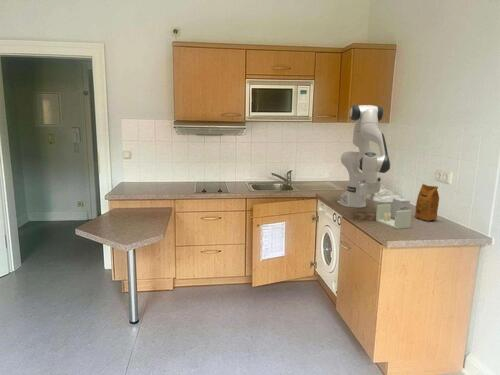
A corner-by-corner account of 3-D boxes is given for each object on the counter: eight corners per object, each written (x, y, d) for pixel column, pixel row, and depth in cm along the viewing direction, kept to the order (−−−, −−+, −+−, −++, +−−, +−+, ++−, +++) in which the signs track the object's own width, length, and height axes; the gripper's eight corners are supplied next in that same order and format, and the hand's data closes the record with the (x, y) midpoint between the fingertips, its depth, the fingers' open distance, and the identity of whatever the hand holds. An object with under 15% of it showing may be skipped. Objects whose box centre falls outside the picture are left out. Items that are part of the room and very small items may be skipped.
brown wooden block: (356, 220, 221) (356, 215, 221) (353, 218, 226) (354, 213, 226) (377, 221, 222) (378, 215, 221) (374, 219, 227) (375, 213, 226)
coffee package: (423, 215, 236) (427, 183, 232) (439, 220, 225) (443, 186, 221) (411, 216, 233) (415, 183, 229) (427, 221, 221) (431, 186, 217)
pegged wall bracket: (375, 220, 221) (376, 205, 219) (388, 219, 224) (389, 204, 223) (396, 228, 204) (398, 211, 203) (410, 227, 208) (411, 210, 206)
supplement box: (398, 220, 223) (400, 200, 221) (390, 217, 230) (392, 198, 228) (408, 219, 225) (410, 200, 223) (400, 216, 232) (402, 197, 230)
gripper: (362, 182, 210) (361, 204, 213) (382, 178, 222) (381, 199, 225) (353, 180, 215) (352, 202, 218) (374, 176, 227) (372, 197, 230)
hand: (367, 201), depth 222 cm, fingers open, 6 cm apart
